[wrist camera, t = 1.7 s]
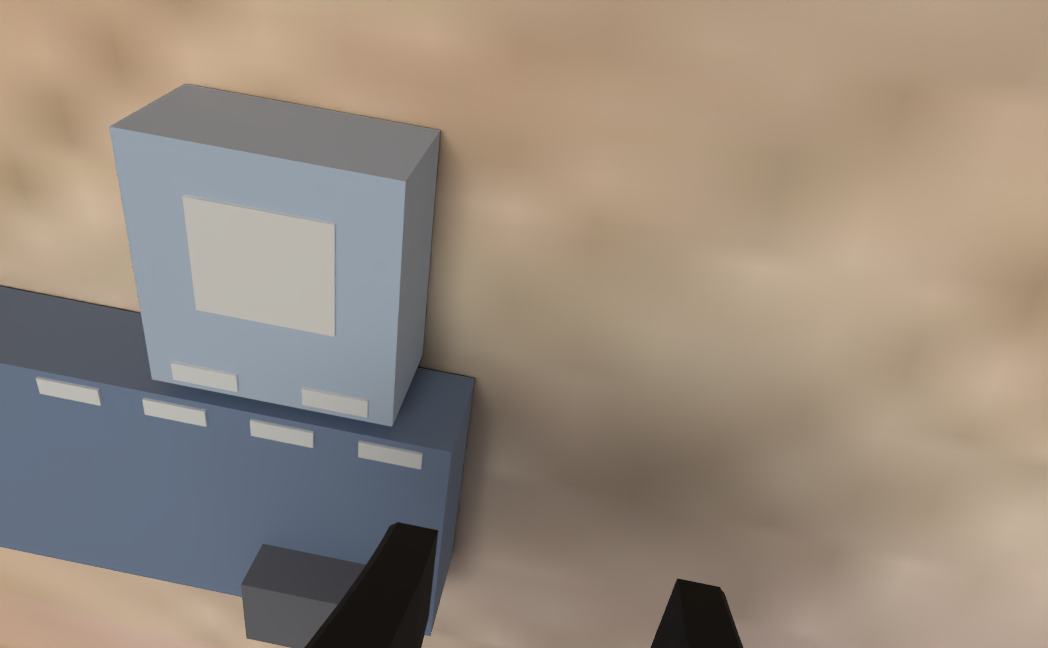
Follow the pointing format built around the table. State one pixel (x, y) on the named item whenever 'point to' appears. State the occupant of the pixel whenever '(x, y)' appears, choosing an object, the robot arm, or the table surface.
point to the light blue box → (279, 248)
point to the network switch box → (210, 470)
